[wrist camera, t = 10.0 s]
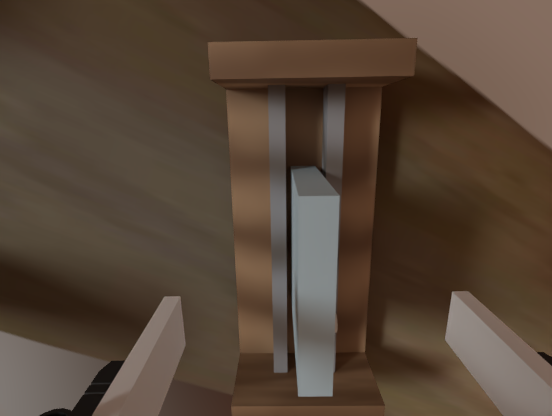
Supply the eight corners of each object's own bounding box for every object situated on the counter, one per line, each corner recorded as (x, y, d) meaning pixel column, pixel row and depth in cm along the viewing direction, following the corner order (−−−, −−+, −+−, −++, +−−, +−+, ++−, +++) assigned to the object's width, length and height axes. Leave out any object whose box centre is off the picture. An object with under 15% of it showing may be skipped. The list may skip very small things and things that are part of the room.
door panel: (290, 166, 26) (298, 196, 16) (327, 165, 26) (360, 195, 16) (291, 297, 29) (298, 396, 19) (323, 297, 29) (349, 396, 19)
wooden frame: (228, 65, 26) (207, 42, 18) (376, 62, 26) (417, 38, 18) (243, 356, 33) (232, 426, 26) (358, 355, 33) (382, 425, 26)
